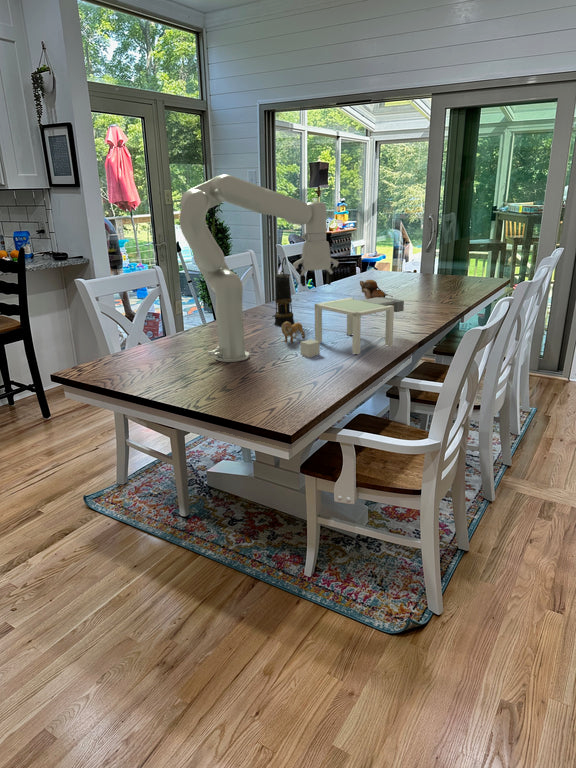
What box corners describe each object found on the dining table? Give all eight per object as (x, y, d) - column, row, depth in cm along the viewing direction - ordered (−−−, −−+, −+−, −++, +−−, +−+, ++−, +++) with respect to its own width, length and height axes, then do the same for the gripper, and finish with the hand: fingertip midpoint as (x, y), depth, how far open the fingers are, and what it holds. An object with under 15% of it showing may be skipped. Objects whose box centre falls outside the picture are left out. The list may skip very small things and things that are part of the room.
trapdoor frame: (356, 355, 197) (356, 313, 192) (315, 342, 216) (314, 304, 211) (392, 345, 208) (393, 306, 203) (350, 334, 226) (350, 297, 221)
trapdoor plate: (356, 323, 197) (357, 311, 195) (323, 315, 212) (322, 304, 210) (410, 312, 212) (411, 300, 211) (375, 305, 227) (375, 294, 226)
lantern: (271, 325, 246) (268, 258, 236) (280, 320, 254) (278, 255, 244) (288, 326, 242) (286, 258, 232) (297, 322, 250) (296, 256, 240)
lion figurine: (290, 345, 213) (289, 323, 210) (278, 344, 215) (278, 322, 212) (307, 336, 225) (307, 315, 222) (296, 335, 227) (295, 314, 224)
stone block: (309, 357, 197) (308, 344, 195) (300, 354, 201) (300, 341, 199) (319, 354, 200) (319, 341, 198) (311, 352, 203) (311, 339, 202)
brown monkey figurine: (366, 284, 305) (353, 279, 293) (392, 279, 295) (379, 274, 283) (367, 307, 304) (353, 303, 292) (392, 303, 294) (379, 299, 282)
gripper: (294, 239, 191) (295, 288, 196) (341, 237, 194) (341, 285, 199) (290, 238, 198) (291, 284, 203) (335, 236, 201) (335, 282, 206)
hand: (316, 285), depth 201 cm, fingers open, 9 cm apart
